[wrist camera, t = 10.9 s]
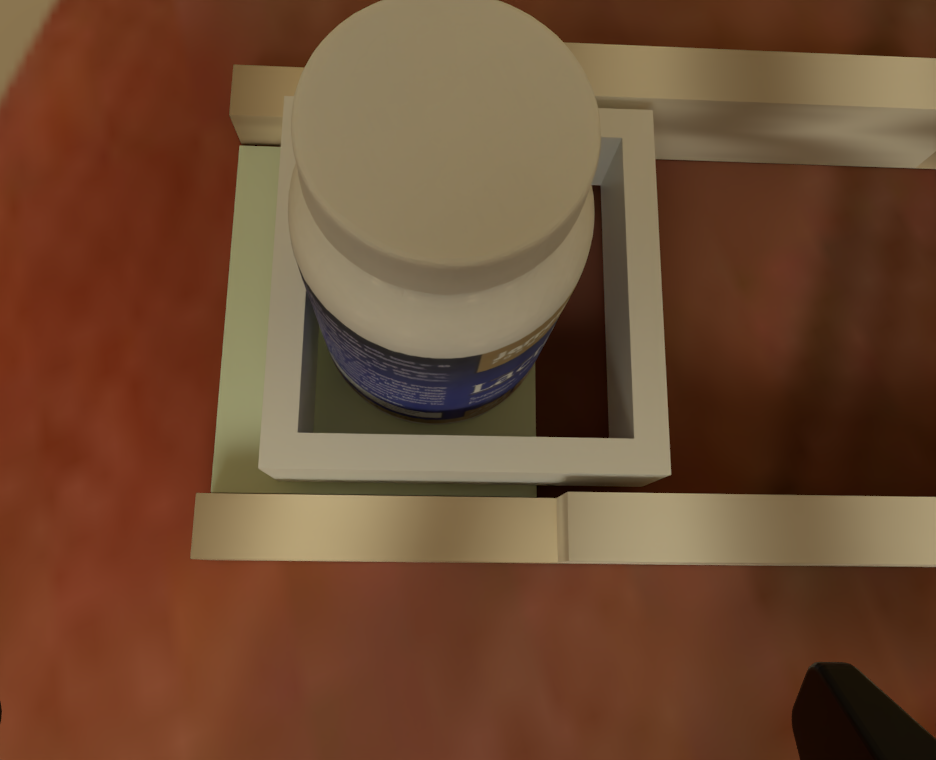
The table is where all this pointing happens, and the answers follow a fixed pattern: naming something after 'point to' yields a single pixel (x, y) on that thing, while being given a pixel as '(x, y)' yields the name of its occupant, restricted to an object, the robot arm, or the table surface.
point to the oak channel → (612, 513)
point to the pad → (333, 395)
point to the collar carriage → (493, 457)
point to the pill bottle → (441, 199)
